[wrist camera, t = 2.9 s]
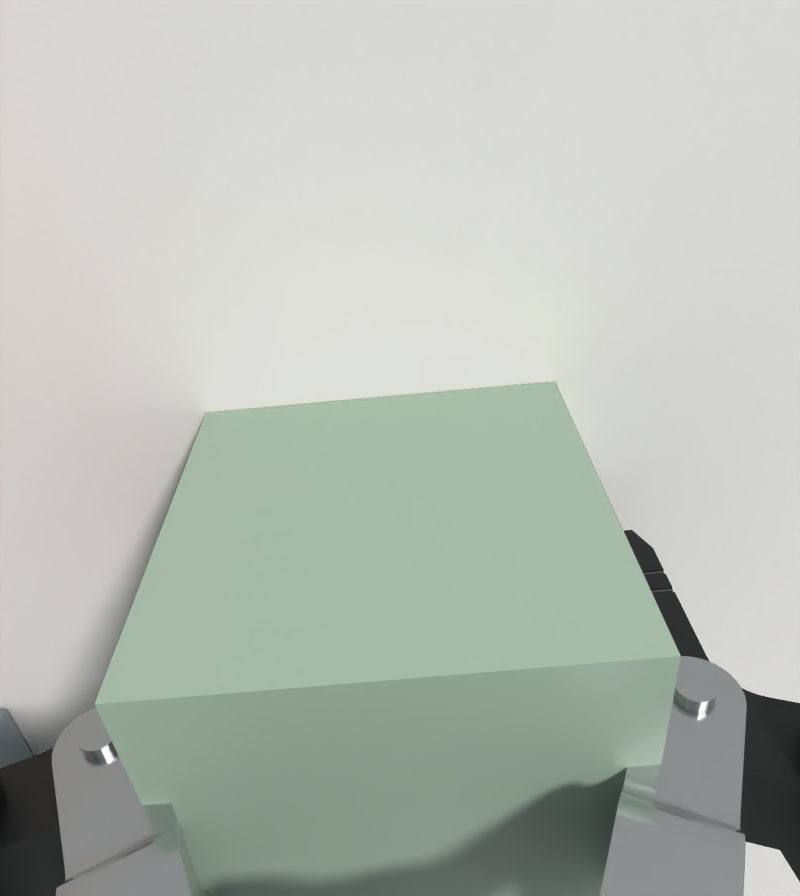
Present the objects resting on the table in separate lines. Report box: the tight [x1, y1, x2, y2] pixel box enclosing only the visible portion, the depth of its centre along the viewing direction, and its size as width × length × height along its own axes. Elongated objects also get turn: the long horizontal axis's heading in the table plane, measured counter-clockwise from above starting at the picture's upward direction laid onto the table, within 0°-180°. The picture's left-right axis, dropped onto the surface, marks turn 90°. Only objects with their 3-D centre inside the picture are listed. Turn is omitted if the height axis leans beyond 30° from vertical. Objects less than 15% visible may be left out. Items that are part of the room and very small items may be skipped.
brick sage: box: [94, 382, 681, 896], centre depth 12 cm, size 6×6×6 cm
